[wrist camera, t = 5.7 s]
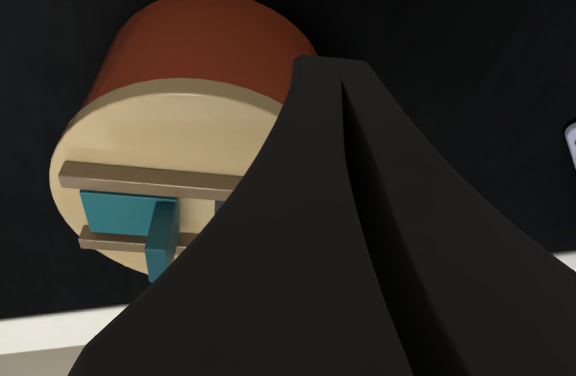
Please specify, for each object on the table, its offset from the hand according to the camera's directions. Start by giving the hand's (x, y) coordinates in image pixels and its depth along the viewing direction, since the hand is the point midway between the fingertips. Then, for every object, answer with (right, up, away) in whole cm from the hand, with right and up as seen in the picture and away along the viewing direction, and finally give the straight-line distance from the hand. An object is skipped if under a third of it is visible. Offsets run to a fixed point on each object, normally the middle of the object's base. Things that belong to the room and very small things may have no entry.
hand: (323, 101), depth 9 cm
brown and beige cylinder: (-4, +3, +13) cm, 13 cm away
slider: (-6, -2, +8) cm, 10 cm away
